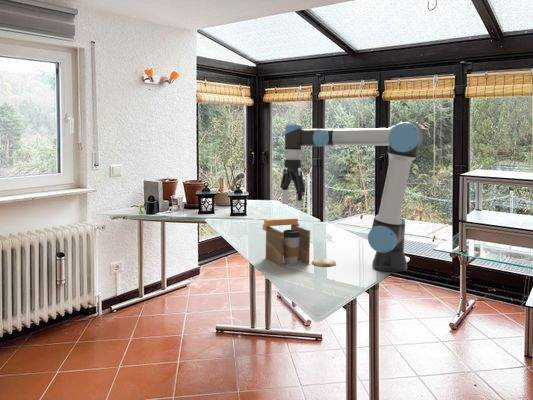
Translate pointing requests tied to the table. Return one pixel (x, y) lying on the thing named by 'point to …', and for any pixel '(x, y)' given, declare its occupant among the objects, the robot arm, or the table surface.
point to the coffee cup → (291, 246)
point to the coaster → (323, 262)
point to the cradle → (277, 244)
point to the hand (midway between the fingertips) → (291, 205)
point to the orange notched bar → (280, 222)
